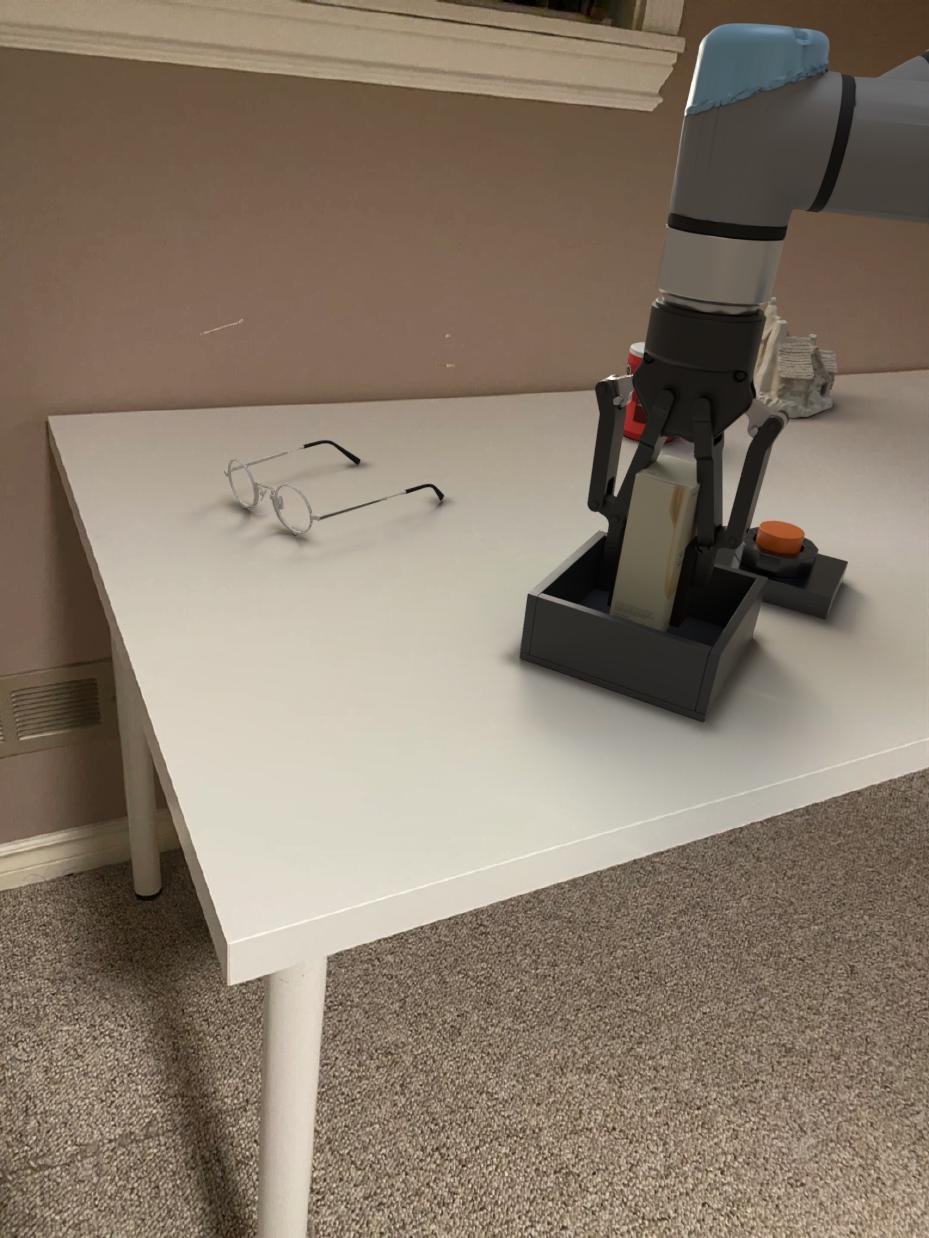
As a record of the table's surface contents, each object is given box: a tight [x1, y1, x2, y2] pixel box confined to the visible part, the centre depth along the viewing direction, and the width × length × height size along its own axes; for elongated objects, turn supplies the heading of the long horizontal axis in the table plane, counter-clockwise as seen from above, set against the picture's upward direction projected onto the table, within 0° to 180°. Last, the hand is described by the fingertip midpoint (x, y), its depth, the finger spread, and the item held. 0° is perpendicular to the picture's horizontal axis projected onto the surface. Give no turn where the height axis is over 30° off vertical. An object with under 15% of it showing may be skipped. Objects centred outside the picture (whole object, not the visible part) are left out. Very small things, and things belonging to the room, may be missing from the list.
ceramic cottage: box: [753, 296, 838, 419], centre depth 141 cm, size 16×16×15 cm
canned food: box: [623, 341, 674, 443], centre depth 122 cm, size 8×8×11 cm
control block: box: [715, 526, 849, 620], centre depth 87 cm, size 12×9×4 cm
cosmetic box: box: [610, 454, 700, 632], centre depth 71 cm, size 6×4×12 cm
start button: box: [755, 520, 806, 554], centre depth 86 cm, size 4×4×2 cm
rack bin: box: [519, 529, 768, 723], centre depth 74 cm, size 15×15×6 cm
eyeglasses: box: [223, 439, 445, 536], centre depth 95 cm, size 16×19×5 cm
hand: (647, 609), depth 74 cm, fingers closed on cosmetic box, 4 cm apart
